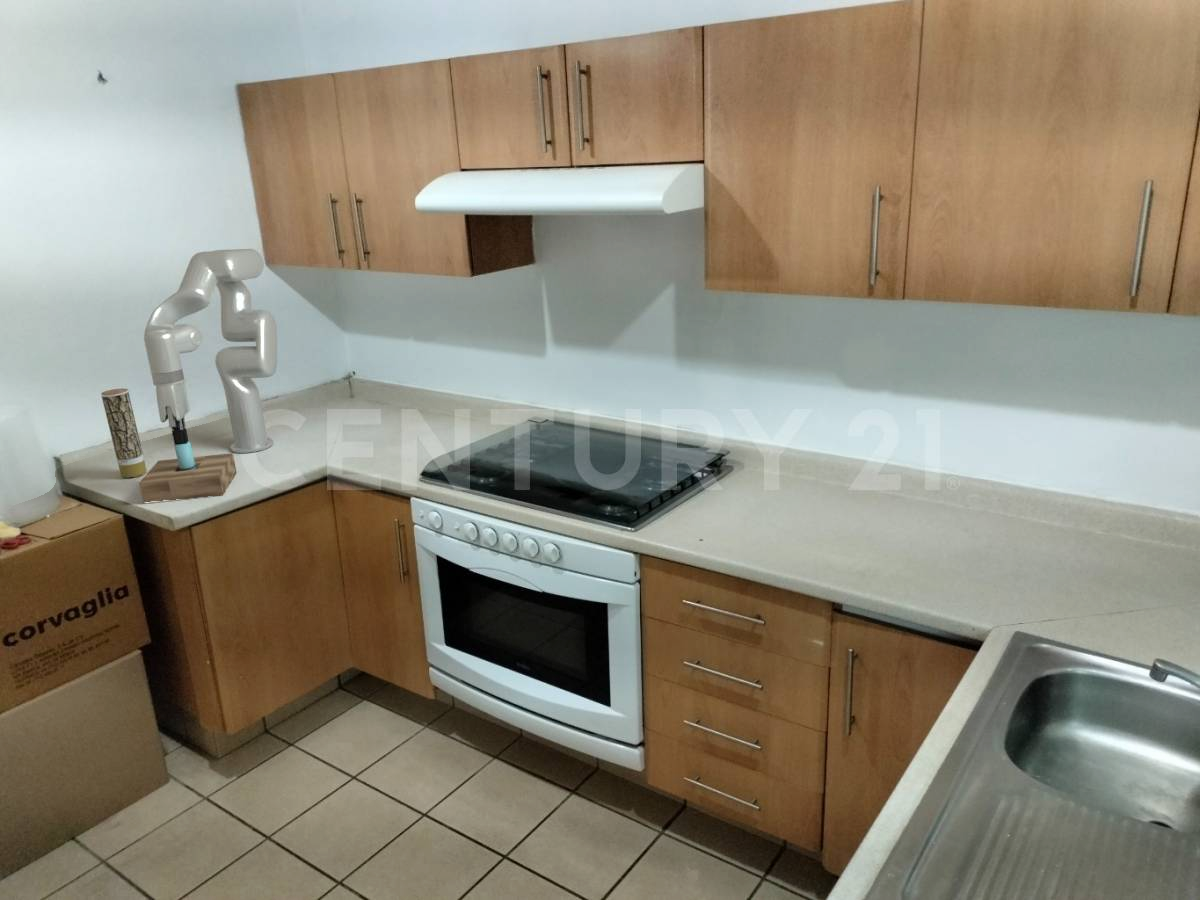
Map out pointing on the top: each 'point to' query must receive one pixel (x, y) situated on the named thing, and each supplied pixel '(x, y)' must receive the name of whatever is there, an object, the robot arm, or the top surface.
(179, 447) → the peg
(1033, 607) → the top surface
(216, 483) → the socket block
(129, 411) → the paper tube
